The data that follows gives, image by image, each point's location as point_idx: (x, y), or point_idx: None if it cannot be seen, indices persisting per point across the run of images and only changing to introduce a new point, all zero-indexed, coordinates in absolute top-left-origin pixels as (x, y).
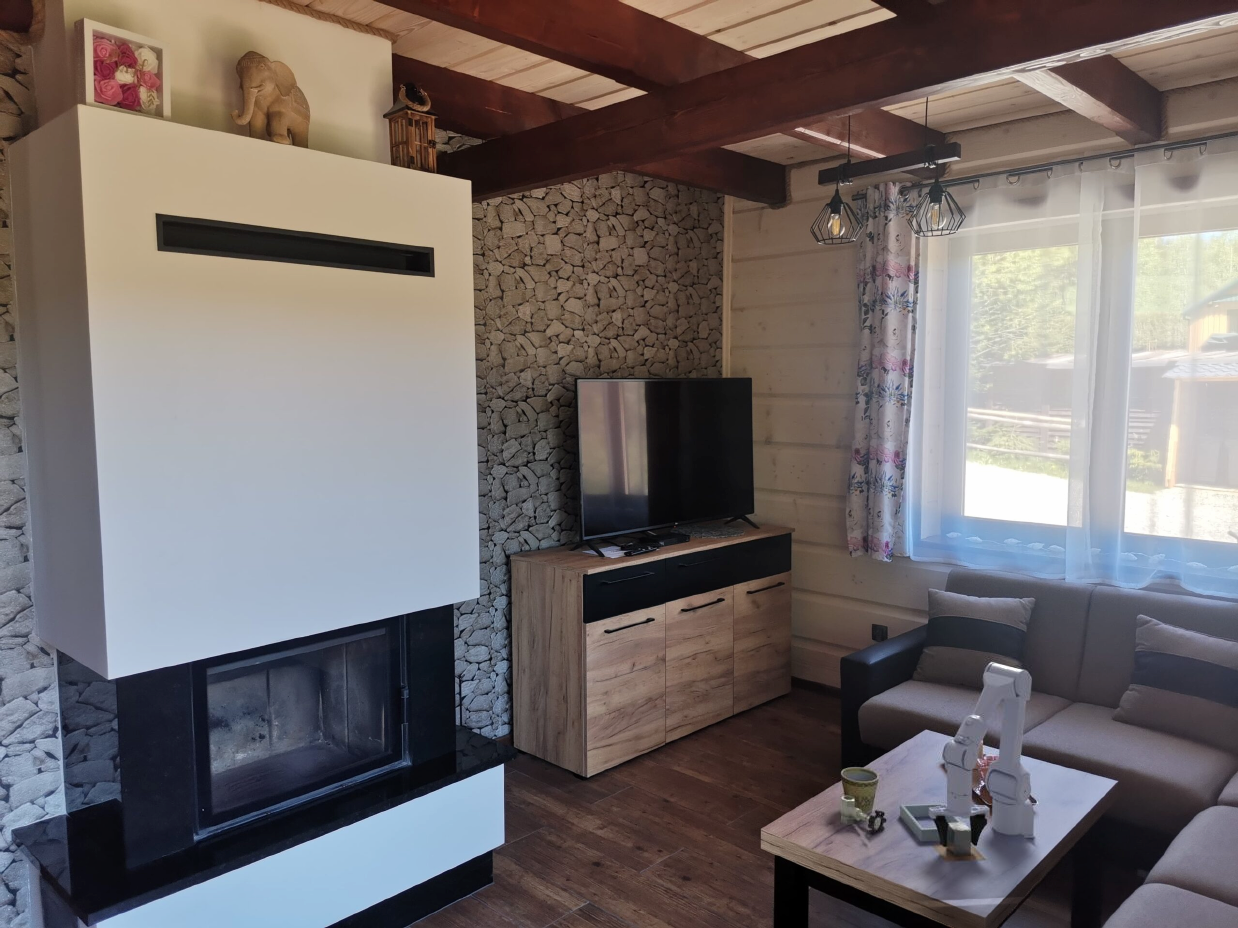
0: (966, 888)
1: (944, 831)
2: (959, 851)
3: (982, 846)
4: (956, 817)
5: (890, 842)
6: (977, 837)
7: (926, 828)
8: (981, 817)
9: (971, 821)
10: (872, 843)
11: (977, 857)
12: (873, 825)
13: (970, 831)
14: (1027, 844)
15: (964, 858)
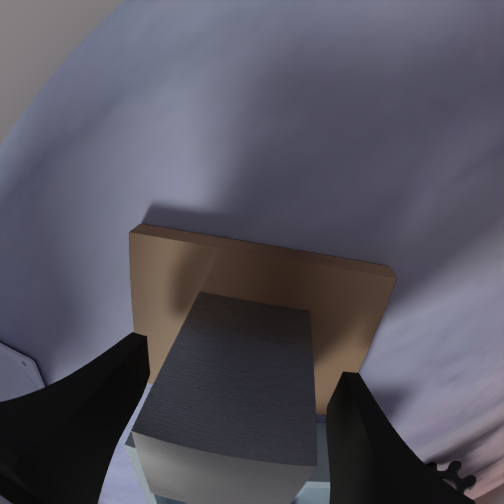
0: (427, 11)
1: (404, 462)
2: (272, 323)
3: (98, 353)
4: (143, 485)
5: (437, 438)
6: (103, 364)
7: (328, 485)
8: (2, 472)
9: (94, 478)
10: (483, 431)
11: (167, 266)
12: (461, 485)
13: (142, 421)
14: None
15: (256, 277)
